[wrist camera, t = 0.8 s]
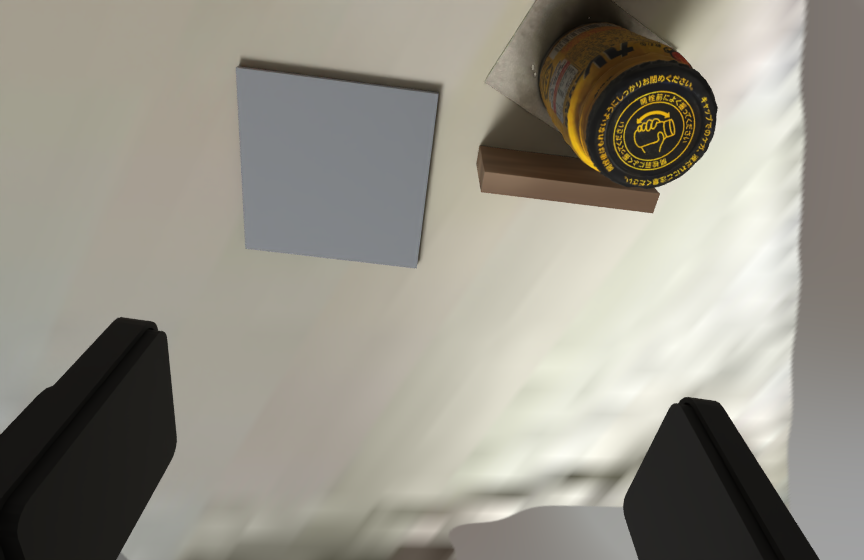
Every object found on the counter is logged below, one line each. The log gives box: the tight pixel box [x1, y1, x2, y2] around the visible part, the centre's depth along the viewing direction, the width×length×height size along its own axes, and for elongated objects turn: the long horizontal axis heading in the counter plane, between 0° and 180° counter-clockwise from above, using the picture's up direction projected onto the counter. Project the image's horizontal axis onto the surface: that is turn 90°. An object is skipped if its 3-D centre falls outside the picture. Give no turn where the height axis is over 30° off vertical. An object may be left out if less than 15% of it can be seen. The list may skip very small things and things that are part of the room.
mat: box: [236, 66, 438, 268], centre depth 36 cm, size 12×12×1 cm
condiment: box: [485, 0, 718, 189], centre depth 27 cm, size 7×8×12 cm
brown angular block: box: [477, 146, 660, 213], centre depth 30 cm, size 13×10×5 cm
